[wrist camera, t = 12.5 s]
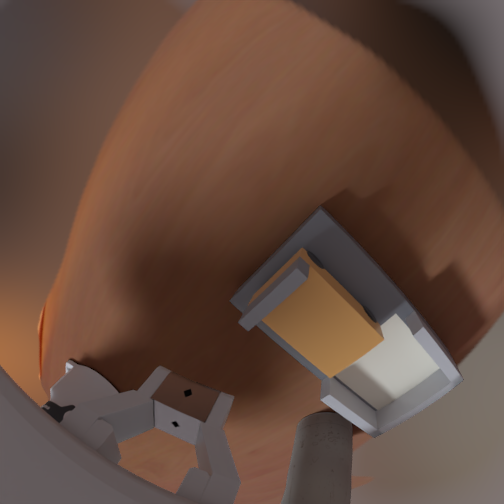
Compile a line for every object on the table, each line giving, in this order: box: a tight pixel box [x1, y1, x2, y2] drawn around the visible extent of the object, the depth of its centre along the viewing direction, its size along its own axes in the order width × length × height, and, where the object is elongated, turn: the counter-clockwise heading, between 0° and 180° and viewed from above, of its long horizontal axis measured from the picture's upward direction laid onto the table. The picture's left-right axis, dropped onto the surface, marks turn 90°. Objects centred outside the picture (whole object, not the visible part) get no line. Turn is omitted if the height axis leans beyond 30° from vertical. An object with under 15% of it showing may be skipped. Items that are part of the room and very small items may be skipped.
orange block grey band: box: [238, 247, 384, 378], centre depth 21 cm, size 6×10×6 cm, turn 49°
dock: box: [230, 205, 464, 438], centre depth 24 cm, size 12×23×6 cm, turn 49°
